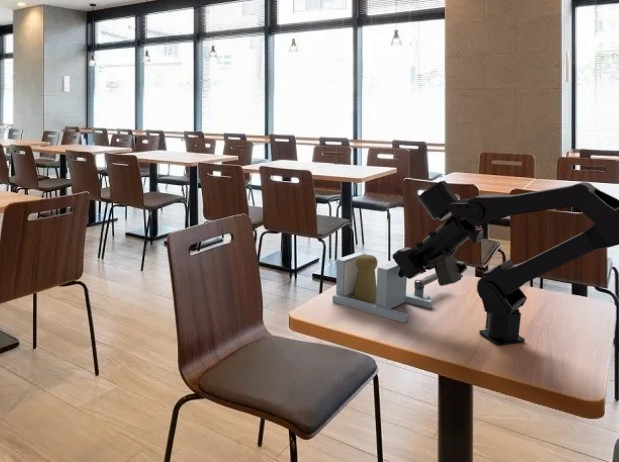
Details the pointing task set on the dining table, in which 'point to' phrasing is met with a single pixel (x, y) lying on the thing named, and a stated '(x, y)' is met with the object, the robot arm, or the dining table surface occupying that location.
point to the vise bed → (348, 279)
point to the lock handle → (425, 281)
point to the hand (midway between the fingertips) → (399, 275)
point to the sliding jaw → (390, 286)
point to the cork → (365, 279)
